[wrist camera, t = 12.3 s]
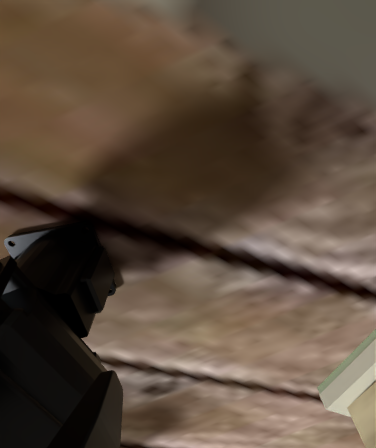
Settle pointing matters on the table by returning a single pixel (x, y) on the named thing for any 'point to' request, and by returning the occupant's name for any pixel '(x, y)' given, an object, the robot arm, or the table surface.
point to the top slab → (351, 382)
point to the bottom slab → (347, 362)
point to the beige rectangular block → (365, 416)
